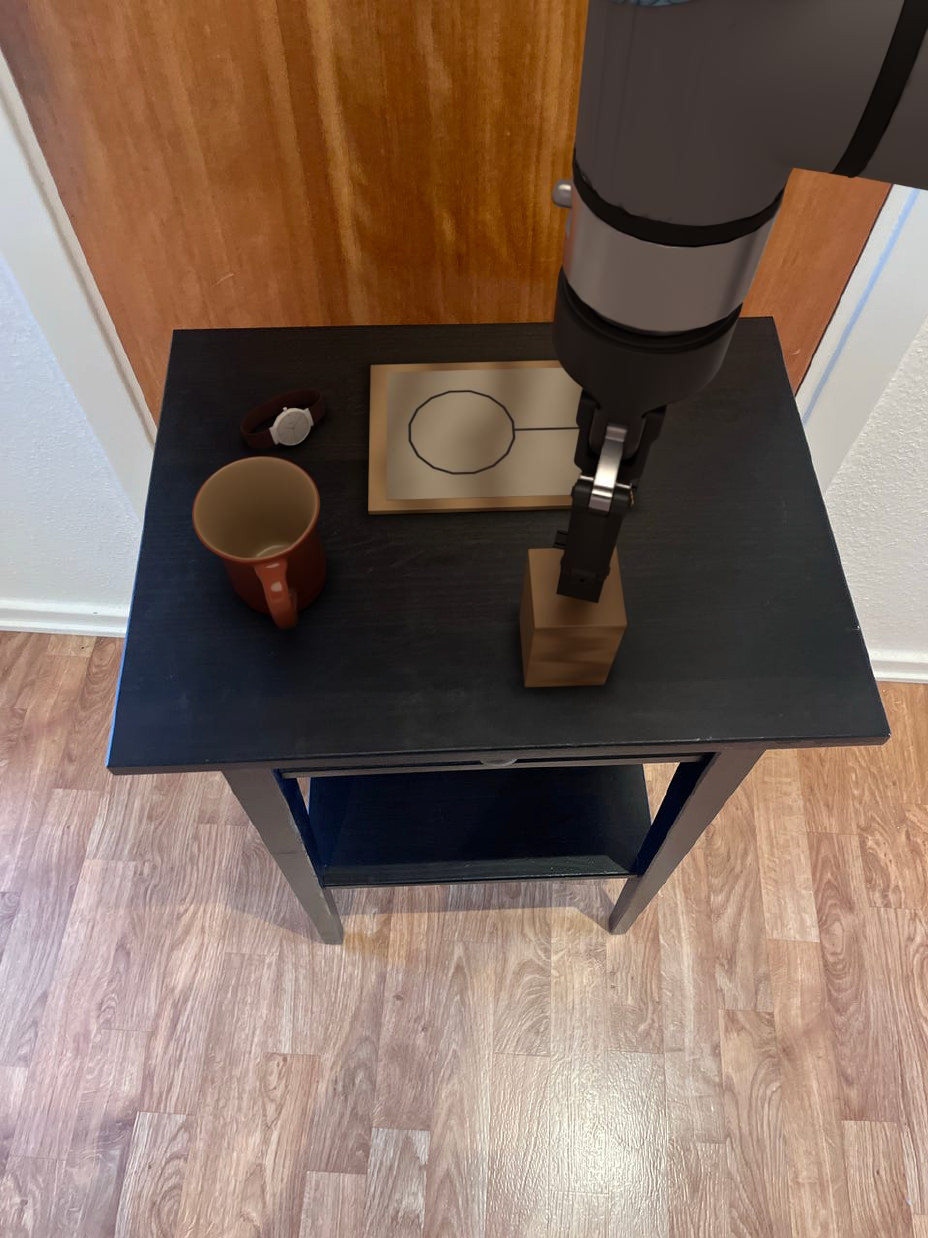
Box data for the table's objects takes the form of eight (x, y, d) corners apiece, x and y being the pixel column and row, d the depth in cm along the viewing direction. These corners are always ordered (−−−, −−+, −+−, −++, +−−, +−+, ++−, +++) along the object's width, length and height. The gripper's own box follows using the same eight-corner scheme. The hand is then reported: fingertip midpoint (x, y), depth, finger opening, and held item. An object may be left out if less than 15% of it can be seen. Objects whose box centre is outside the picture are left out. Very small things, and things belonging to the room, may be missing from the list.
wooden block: (595, 614, 67) (616, 545, 58) (604, 685, 64) (627, 624, 55) (519, 616, 67) (528, 548, 58) (524, 687, 64) (534, 627, 55)
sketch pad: (610, 363, 79) (611, 357, 78) (632, 507, 72) (634, 502, 71) (371, 369, 79) (370, 363, 78) (368, 514, 71) (367, 510, 71)
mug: (219, 548, 70) (183, 471, 61) (325, 523, 71) (305, 443, 62) (244, 679, 64) (209, 616, 55) (358, 649, 66) (342, 583, 56)
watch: (260, 465, 74) (251, 438, 70) (234, 430, 75) (224, 402, 72) (337, 425, 76) (332, 396, 72) (310, 391, 77) (303, 362, 74)
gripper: (596, 141, 38) (551, 467, 59) (517, 400, 31) (497, 665, 52) (767, 168, 37) (659, 490, 58) (723, 441, 30) (619, 695, 51)
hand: (583, 572), depth 55 cm, fingers closed on marker, 2 cm apart
